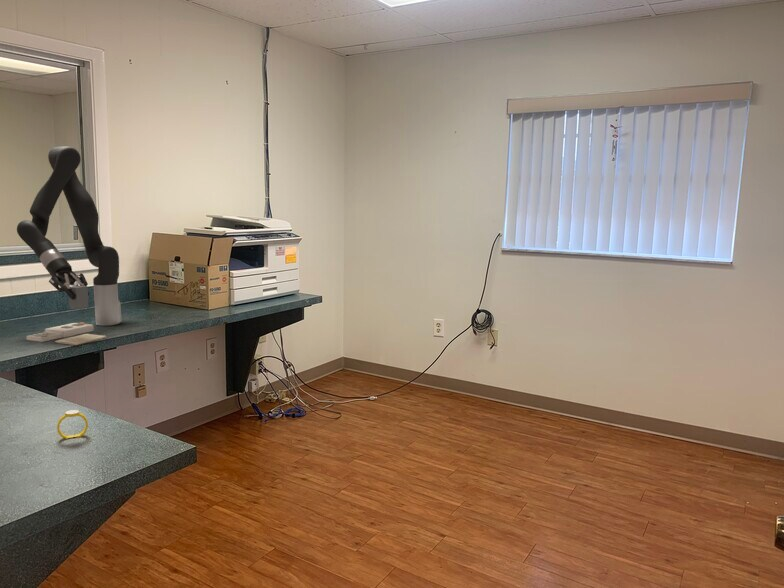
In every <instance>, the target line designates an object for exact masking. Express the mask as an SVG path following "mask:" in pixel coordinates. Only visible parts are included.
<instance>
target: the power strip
mask: <svg viewBox="0 0 784 588" xmlns="http://www.w3.org/2000/svg"><path fill="white" fill-rule="evenodd" d="M91 332H94V324H88V323H86V322H81V321H80V322H72V323H66V324H63V325H57V326H51V327H47V328H44V332H39V333H35V334H30V335H26V340H27V341H32V342H38V343H39V342H40V343H43V342H48V341H52V340H57V339H58V340H59V339H66V338H70V337H74V336H79V335H83V334H87V333H91Z"/></svg>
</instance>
